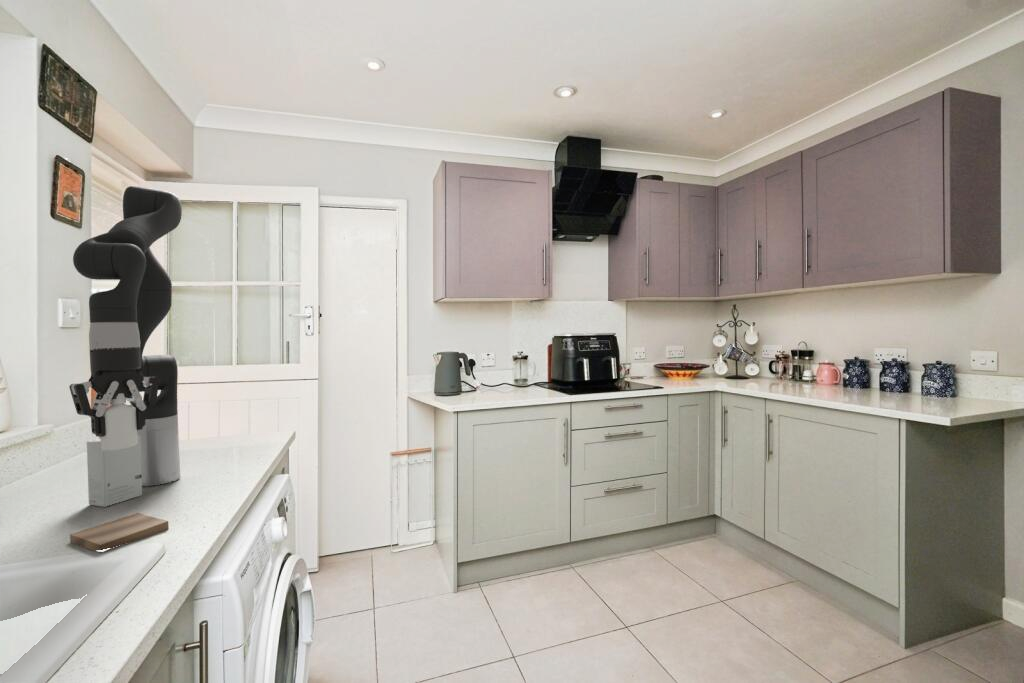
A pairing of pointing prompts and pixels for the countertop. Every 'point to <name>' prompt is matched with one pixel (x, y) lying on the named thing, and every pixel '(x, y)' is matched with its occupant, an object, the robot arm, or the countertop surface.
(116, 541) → the walnut board
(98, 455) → the skincare box
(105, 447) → the eye dropper bottle
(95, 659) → the countertop surface
